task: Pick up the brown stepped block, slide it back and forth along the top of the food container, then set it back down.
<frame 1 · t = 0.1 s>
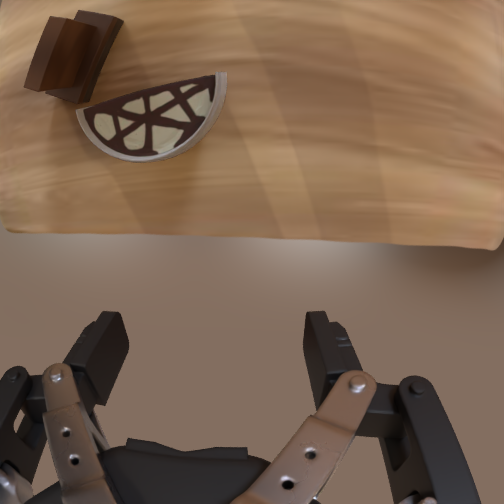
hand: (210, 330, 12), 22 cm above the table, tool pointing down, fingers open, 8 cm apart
food container: (176, 115, 28), on the table
brown stepped block: (87, 56, 23), on the table
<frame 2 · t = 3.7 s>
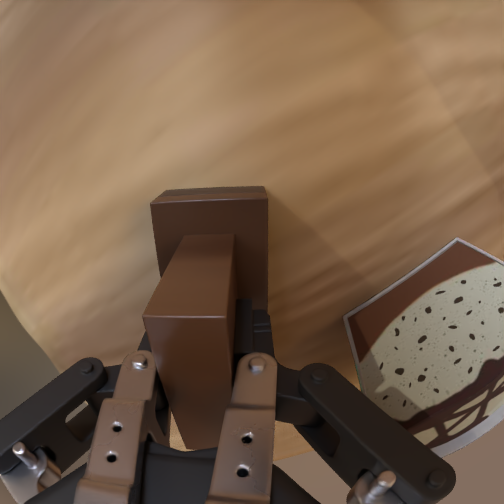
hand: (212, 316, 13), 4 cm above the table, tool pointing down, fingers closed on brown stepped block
food container: (415, 306, 18), on the table
brown stepped block: (219, 276, 16), on the table, touching gripper
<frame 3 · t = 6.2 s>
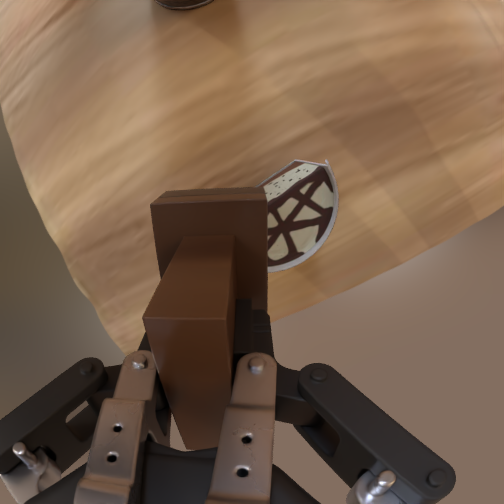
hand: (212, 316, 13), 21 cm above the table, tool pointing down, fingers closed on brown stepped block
food container: (276, 205, 33), on the table
brown stepped block: (219, 277, 16), point 17 cm above the table, touching gripper
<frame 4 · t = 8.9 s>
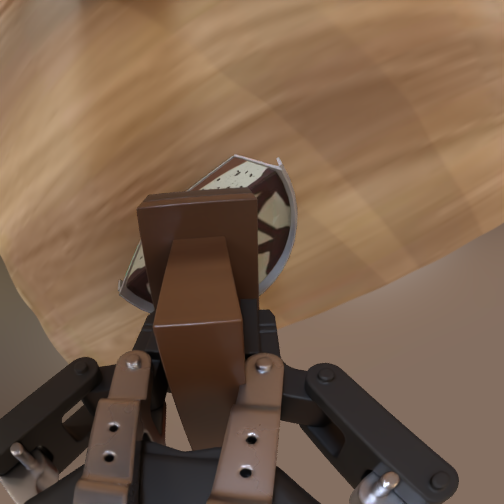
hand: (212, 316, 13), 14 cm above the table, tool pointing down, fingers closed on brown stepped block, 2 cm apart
food container: (211, 214, 25), on the table, touching brown stepped block
brown stepped block: (205, 281, 16), point 11 cm above the table, tilted 9°, touching food container, gripper
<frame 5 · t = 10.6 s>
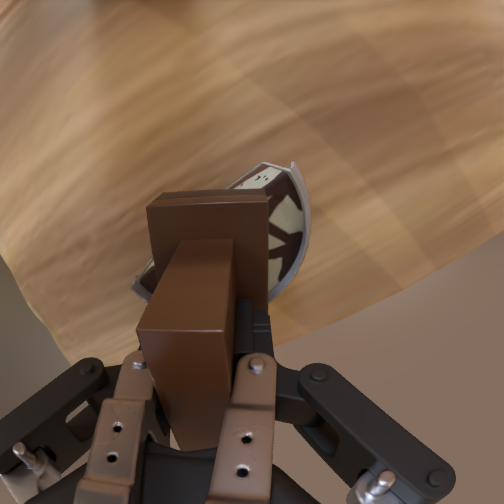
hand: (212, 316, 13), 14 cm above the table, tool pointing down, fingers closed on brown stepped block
food container: (239, 221, 26), on the table
brown stepped block: (218, 281, 16), point 10 cm above the table, touching gripper
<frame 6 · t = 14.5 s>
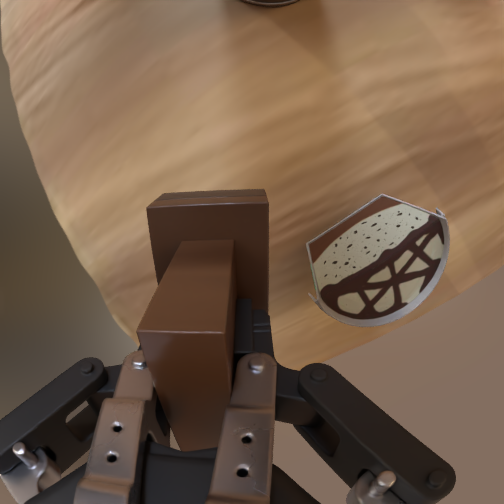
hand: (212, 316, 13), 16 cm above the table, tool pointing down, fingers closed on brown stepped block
food container: (357, 241, 29), on the table
brown stepped block: (218, 282, 16), point 13 cm above the table, touching gripper
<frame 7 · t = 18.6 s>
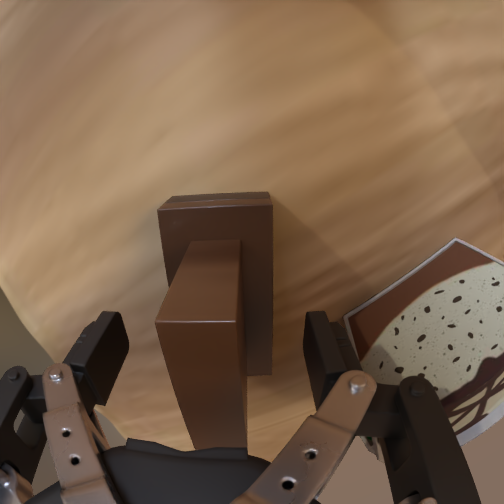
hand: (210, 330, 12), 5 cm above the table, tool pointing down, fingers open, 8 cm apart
food container: (414, 306, 18), on the table
brown stepped block: (225, 280, 17), on the table
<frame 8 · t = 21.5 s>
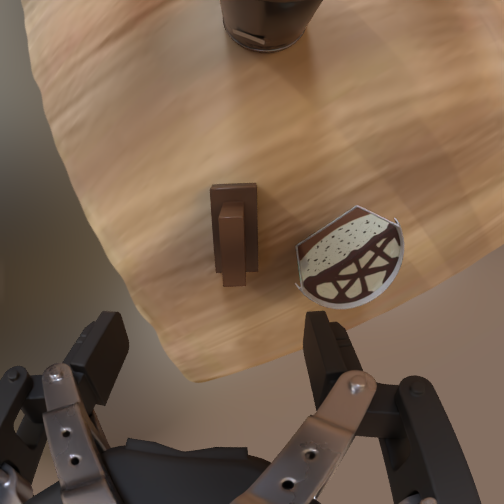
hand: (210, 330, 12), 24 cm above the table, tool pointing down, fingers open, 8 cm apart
food container: (337, 243, 37), on the table
brown stepped block: (235, 224, 35), on the table
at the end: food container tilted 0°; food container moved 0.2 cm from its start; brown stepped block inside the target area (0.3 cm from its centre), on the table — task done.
